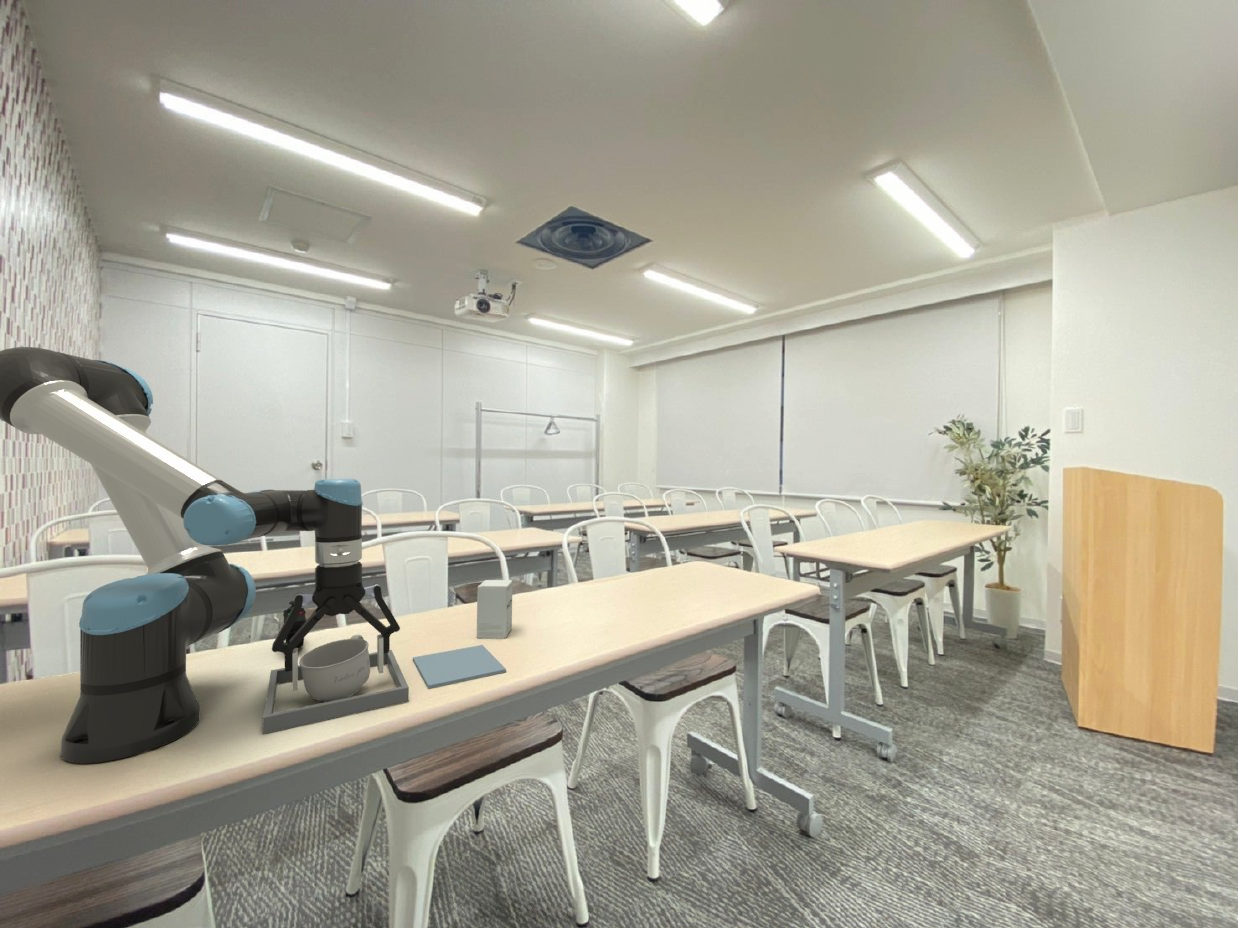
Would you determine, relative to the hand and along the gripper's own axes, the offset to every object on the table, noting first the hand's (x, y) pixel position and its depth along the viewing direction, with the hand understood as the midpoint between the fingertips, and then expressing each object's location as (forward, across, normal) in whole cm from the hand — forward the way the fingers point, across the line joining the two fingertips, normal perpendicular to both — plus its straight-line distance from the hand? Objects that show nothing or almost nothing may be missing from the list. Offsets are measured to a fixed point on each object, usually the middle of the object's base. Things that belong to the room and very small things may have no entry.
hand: (339, 679), depth 92 cm
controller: (+2, -7, +29) cm, 30 cm away
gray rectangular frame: (+2, 0, 0) cm, 2 cm away
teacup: (+2, +1, 0) cm, 2 cm away
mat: (+3, +22, +1) cm, 22 cm away
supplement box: (+3, +35, +17) cm, 39 cm away
